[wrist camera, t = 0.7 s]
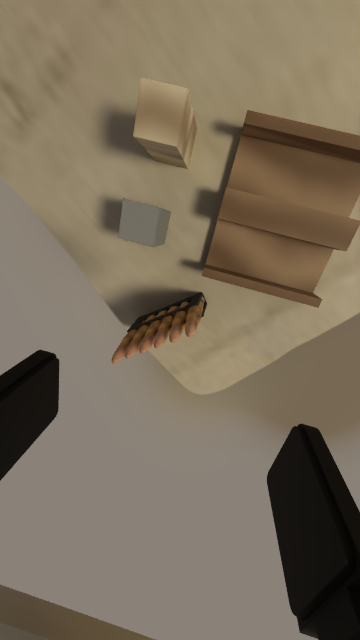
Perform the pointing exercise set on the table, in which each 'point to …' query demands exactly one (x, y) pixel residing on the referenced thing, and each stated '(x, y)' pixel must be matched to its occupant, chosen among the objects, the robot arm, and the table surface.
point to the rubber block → (143, 223)
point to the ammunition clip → (162, 326)
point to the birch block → (165, 122)
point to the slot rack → (285, 207)
